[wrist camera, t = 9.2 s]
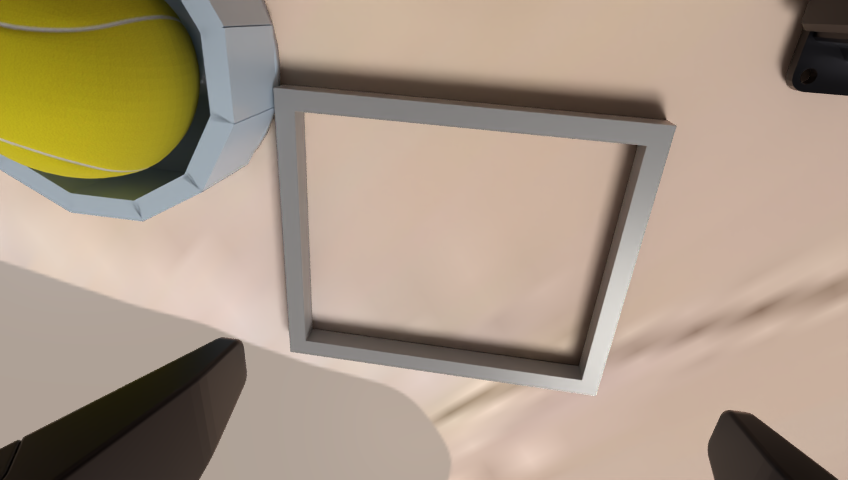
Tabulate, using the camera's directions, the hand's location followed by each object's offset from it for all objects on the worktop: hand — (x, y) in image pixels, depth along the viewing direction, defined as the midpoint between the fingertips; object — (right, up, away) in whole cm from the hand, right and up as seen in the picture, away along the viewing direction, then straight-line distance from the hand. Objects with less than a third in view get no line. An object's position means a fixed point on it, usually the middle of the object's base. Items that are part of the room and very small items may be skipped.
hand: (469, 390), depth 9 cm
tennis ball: (-12, +10, +10) cm, 18 cm away
